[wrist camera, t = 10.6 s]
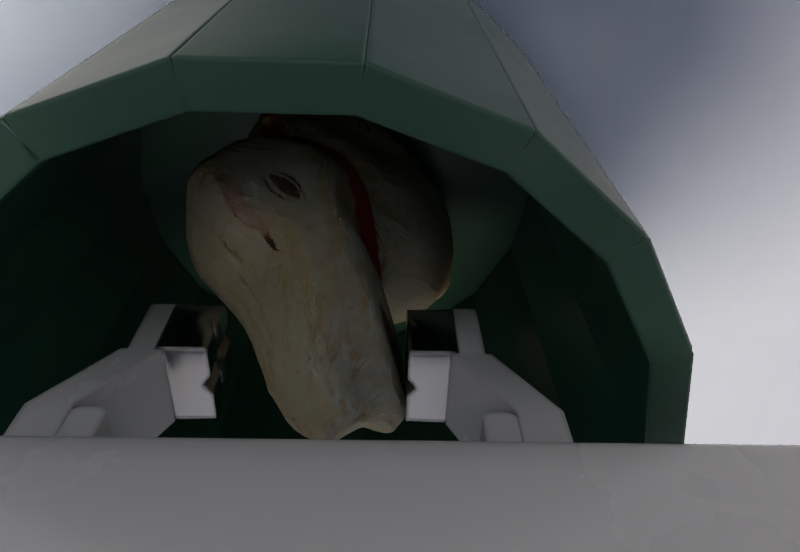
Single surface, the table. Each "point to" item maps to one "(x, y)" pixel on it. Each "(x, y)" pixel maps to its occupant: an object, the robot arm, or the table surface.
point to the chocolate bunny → (321, 261)
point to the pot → (409, 126)
